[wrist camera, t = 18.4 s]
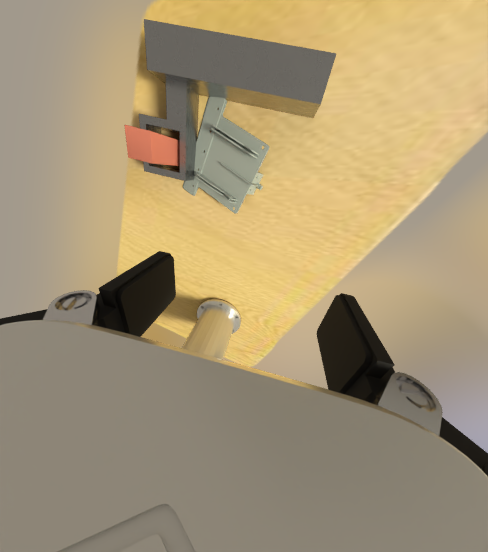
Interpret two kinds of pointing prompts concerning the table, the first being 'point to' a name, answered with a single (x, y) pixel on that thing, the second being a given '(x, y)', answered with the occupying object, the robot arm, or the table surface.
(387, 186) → the table surface
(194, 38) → the grey socket fixture
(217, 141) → the metal bracket
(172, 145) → the red rectangular block
